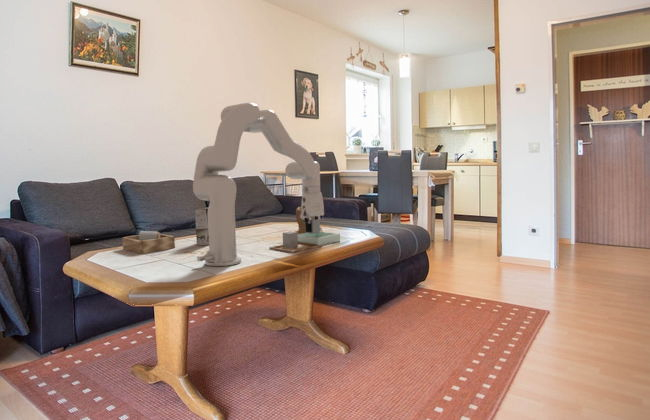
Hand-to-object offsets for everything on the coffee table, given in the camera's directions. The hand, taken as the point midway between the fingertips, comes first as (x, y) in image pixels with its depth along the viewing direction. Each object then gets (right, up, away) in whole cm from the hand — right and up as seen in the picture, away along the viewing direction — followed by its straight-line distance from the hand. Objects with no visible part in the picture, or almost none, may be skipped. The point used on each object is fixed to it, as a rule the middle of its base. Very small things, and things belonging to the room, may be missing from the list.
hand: (312, 230), depth 194 cm
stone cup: (-2, -4, +19) cm, 19 cm away
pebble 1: (-9, -6, -12) cm, 16 cm away
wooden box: (-71, -7, -5) cm, 71 cm away
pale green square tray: (+2, -5, -1) cm, 6 cm away
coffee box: (-48, -6, +5) cm, 49 cm away
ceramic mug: (-71, -7, -2) cm, 71 cm away
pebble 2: (0, -1, 0) cm, 1 cm away
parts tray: (-7, -7, -15) cm, 18 cm away
